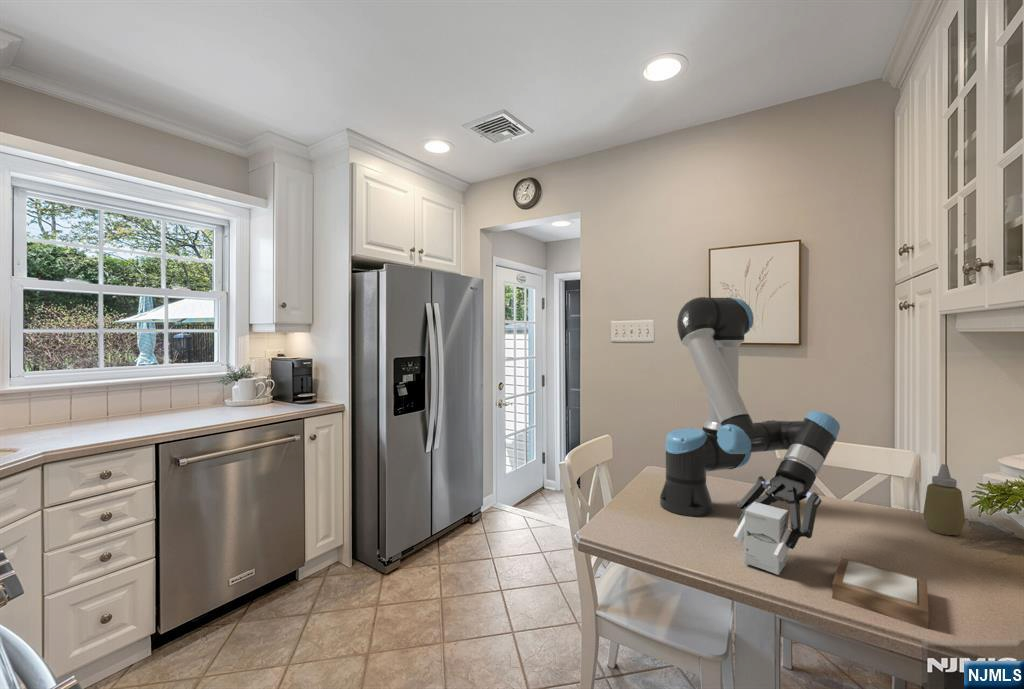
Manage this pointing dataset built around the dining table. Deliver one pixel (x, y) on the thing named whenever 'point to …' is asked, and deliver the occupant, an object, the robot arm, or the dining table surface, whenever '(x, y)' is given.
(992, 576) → the dining table surface
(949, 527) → the squeeze bottle
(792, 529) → the robot arm
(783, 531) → the supplement box
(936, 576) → the dining table surface
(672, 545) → the dining table surface
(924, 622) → the picture frame
